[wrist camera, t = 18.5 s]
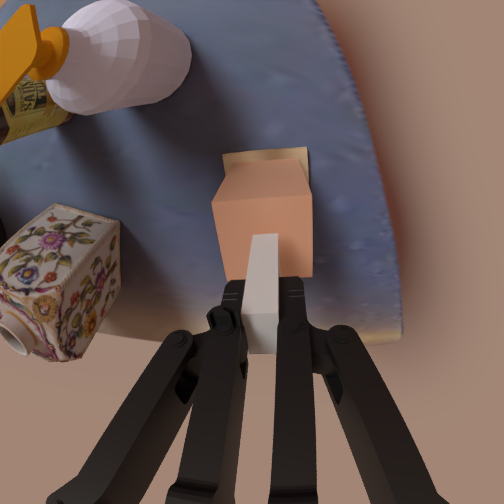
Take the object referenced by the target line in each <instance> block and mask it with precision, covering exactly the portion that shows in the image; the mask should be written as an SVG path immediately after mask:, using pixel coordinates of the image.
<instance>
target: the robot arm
mask: <svg viewBox="0 0 504 504" xmlns="http://www.w3.org/2000/svg"><path fill="white" fill-rule="evenodd" d="M5 243H6V237H5V233H4V229H3V226H2V223H1V221H0V248H1V247H2V246H3V245H4V244H5ZM206 317H207V320H208V323H209V326H210V330H208V331H207V332H204V333H200V334H196V335H192V334H191V333H190V332H189V331H186V330H177V331H174V332H172V333H170V334H169V335H168V336H167V337H166V339H165V340H164V342H163V343H162V344H161V346H160V347H159V349H158V351H157V352H156V353H155V355H154V356H153V358H152V359H151V361H150V363H149V364H148V365H147V367H146V369H145V370H144V372H143V373H142V374H141V376H140V377H139V379H138V381H137V382H136V384H135V385H134V387H133V388H132V390H131V391H130V393H129V394H128V396H127V398H126V399H125V400H124V402H123V404H122V405H121V407H120V408H119V410H118V411H117V413H116V414H115V416H114V418H113V419H112V421H111V422H110V424H109V425H108V427H107V429H106V430H105V432H104V433H103V435H102V436H101V438H100V440H99V441H98V443H97V444H96V446H95V448H94V449H93V451H92V453H91V454H90V456H89V457H88V459H87V461H86V462H85V464H84V466H83V467H82V469H81V470H80V472H79V474H78V475H77V476H76V477H75V478H73V479H72V480H71V481H69V482H68V483H66V484H65V485H64V486H62V487H61V488H59V489H58V490H56V491H55V492H54V493H52V494H51V495H50V496H49V497H48V498H47V501H46V504H139V503H140V501H141V499H142V498H143V496H144V494H145V493H146V491H147V489H148V487H149V485H150V484H151V482H152V480H153V478H154V476H155V474H156V472H157V471H158V469H159V467H160V465H161V463H162V461H163V459H164V457H165V455H166V454H167V452H168V450H169V448H170V446H171V444H172V442H173V440H174V439H175V436H176V435H177V433H178V431H179V429H180V427H181V425H182V423H183V421H184V419H185V418H186V416H187V414H188V412H189V410H190V408H191V406H192V404H193V406H192V411H191V415H190V420H189V425H188V429H187V434H186V438H185V443H184V448H183V453H182V458H181V463H180V467H179V473H178V477H177V480H176V482H175V483H174V484H173V485H171V486H170V488H169V490H168V493H167V497H166V501H165V504H235V498H234V492H235V483H236V474H237V465H238V456H239V447H240V438H241V429H242V420H243V409H244V400H245V391H246V381H247V372H248V359H247V352H248V351H249V354H269V353H270V354H273V353H276V386H275V388H276V389H275V413H274V434H273V453H272V469H271V485H270V494H269V499H268V504H318V495H317V473H316V472H317V470H316V428H315V406H314V388H313V373H317V374H322V376H323V379H324V382H325V384H326V386H327V389H328V392H329V394H330V397H331V399H332V402H333V404H334V407H335V409H336V412H337V415H338V417H339V420H340V422H341V425H342V428H343V430H344V432H345V435H346V438H347V441H348V443H349V446H350V449H351V451H352V454H353V456H354V459H355V462H356V465H357V467H358V470H359V473H360V475H361V478H362V481H363V483H364V486H365V489H366V492H367V494H368V497H369V500H370V503H371V504H449V503H448V502H447V501H446V500H445V499H443V498H442V497H441V496H440V495H439V494H438V493H437V491H436V489H435V486H434V484H433V482H432V480H431V477H430V475H429V472H428V470H427V468H426V466H425V463H424V461H423V459H422V457H421V455H420V453H419V451H418V448H417V446H416V444H415V442H414V440H413V438H412V436H411V434H410V432H409V429H408V428H407V426H406V423H405V421H404V419H403V417H402V416H401V413H400V411H399V410H398V407H397V406H396V404H395V402H394V400H393V398H392V396H391V394H390V392H389V390H388V388H387V387H386V384H385V383H384V381H383V379H382V377H381V375H380V373H379V371H378V370H377V368H376V366H375V364H374V362H373V361H372V359H371V357H370V355H369V353H368V352H367V350H366V348H365V346H364V344H363V343H362V341H361V339H360V337H359V336H358V334H357V332H356V331H355V330H354V329H353V328H351V327H349V326H346V325H336V326H334V327H332V328H330V329H329V330H328V331H327V330H322V329H318V328H316V327H314V326H312V325H311V324H310V323H309V322H308V320H307V315H306V305H305V296H304V286H303V281H302V280H301V279H300V278H299V276H290V277H281V269H280V255H279V241H278V233H273V234H257V235H253V236H252V243H251V249H250V256H249V263H248V269H247V276H246V279H241V280H230V281H229V282H228V284H227V285H226V286H225V289H224V295H223V298H222V302H221V305H220V306H216V307H214V308H212V309H211V310H210V311H209V312H208V314H207V315H206Z"/></svg>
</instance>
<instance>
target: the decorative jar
mask: <svg viewBox="0 0 504 504" xmlns="http://www.w3.org/2000/svg"><path fill="white" fill-rule="evenodd" d="M120 289H121V273H120V221H119V220H114V219H111V218H107V217H104V216H100V215H96V214H93V213H90V212H86V211H82V210H79V209H77V208H73V207H69V206H65V205H61V204H57V203H54V204H53V205H52V206H50V207H49V208H47V209H46V210H45V211H43V212H42V213H40V214H39V215H38V216H36V217H35V218H34V219H33V220H31V221H30V222H29V223H27V224H26V225H25V226H24V227H23V228H21V229H20V230H19V231H18V232H17V233H16V234H15V235H14V236H12V237H11V238H10V239H9V240H8V241H7V242H6V243H5V244H4V245H3V246H2V247H1V248H0V335H1V336H2V337H3V339H4V340H5V341H6V343H7V344H8V345H9V346H10V347H11V348H12V349H13V350H14V351H16V352H17V353H19V354H21V355H23V356H28V355H29V354H30V352H32V353H34V354H35V355H37V356H39V357H41V358H42V359H44V360H46V361H48V362H58V361H59V362H68V361H70V360H76V359H80V358H82V356H83V354H84V353H85V351H86V349H87V348H88V346H89V344H90V342H91V341H92V339H93V337H94V335H95V333H96V332H97V330H98V328H99V326H100V324H101V323H102V321H103V319H104V318H105V316H106V314H107V313H108V311H109V309H110V308H111V306H112V304H113V303H114V301H115V299H116V297H117V295H118V293H119V292H120Z"/></svg>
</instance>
